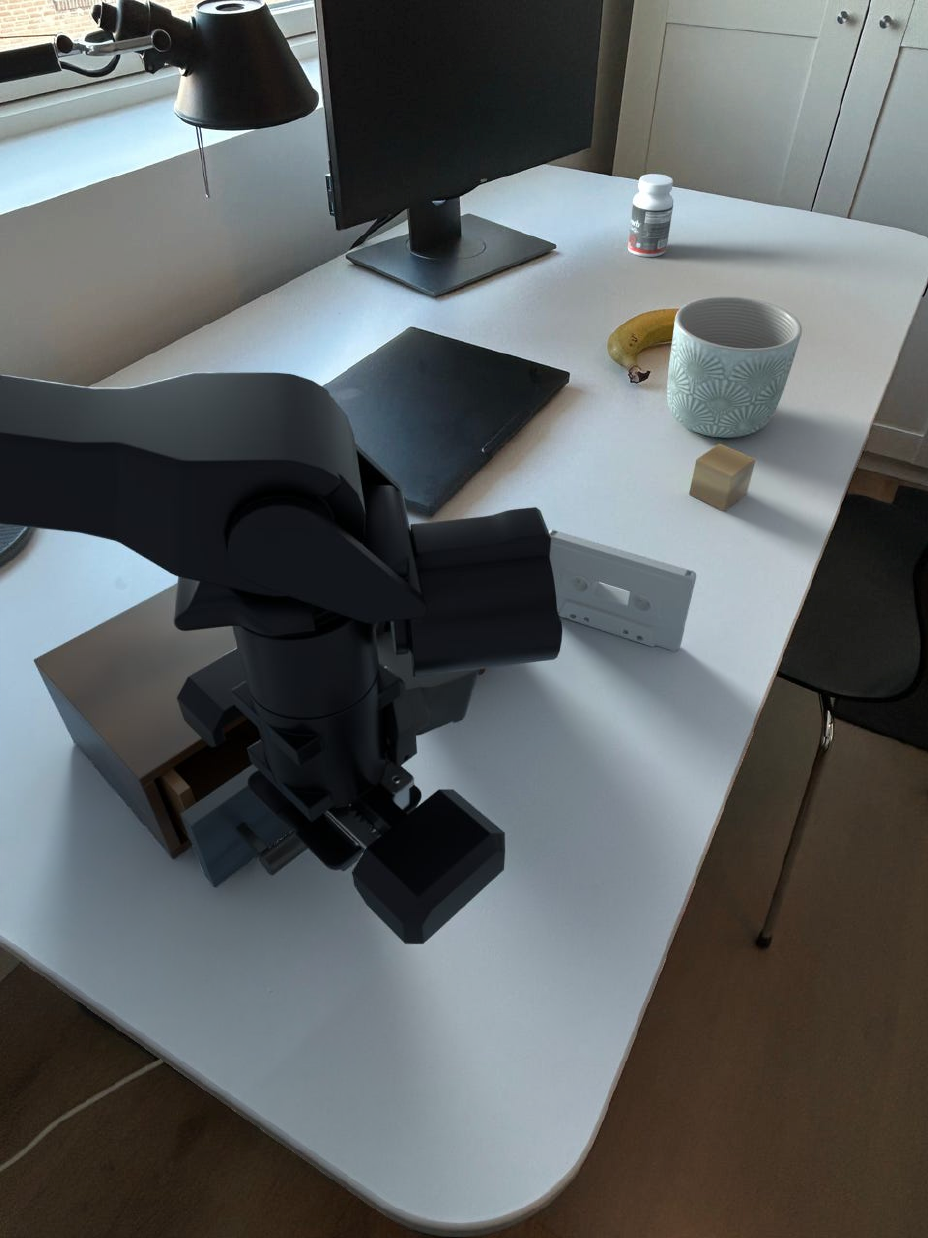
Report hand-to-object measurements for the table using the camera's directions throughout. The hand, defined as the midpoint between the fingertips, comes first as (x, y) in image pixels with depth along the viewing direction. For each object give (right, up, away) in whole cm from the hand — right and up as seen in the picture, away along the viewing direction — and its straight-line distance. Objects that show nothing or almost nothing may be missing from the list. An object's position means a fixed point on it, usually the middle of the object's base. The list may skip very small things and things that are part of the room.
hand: (347, 862), depth 49 cm
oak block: (+31, +26, +36) cm, 54 cm away
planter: (+34, +35, +47) cm, 68 cm away
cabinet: (-13, +4, +14) cm, 19 cm away
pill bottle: (+33, +68, +81) cm, 111 cm away
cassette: (+18, +13, +23) cm, 32 cm away
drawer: (-8, +2, +10) cm, 13 cm away
